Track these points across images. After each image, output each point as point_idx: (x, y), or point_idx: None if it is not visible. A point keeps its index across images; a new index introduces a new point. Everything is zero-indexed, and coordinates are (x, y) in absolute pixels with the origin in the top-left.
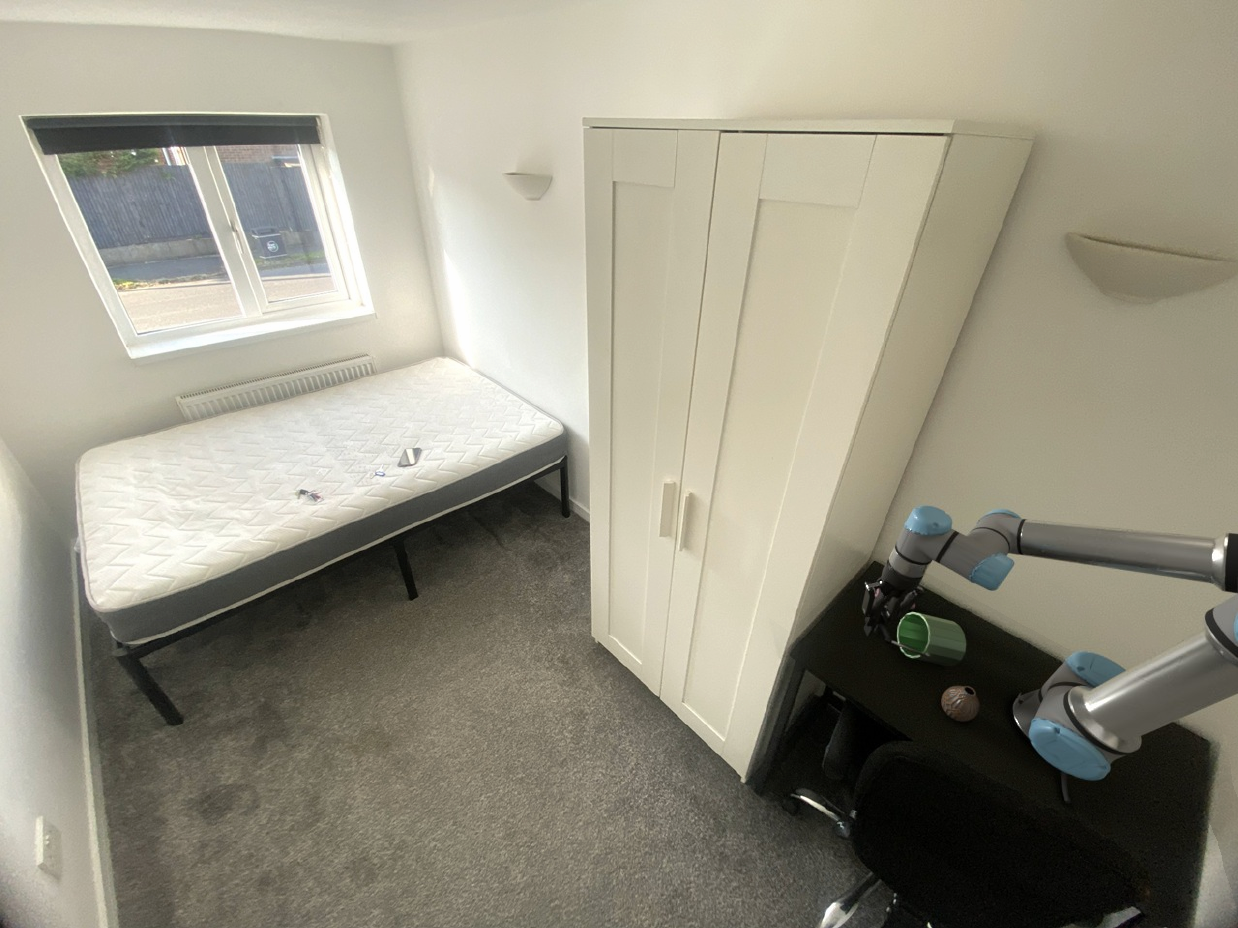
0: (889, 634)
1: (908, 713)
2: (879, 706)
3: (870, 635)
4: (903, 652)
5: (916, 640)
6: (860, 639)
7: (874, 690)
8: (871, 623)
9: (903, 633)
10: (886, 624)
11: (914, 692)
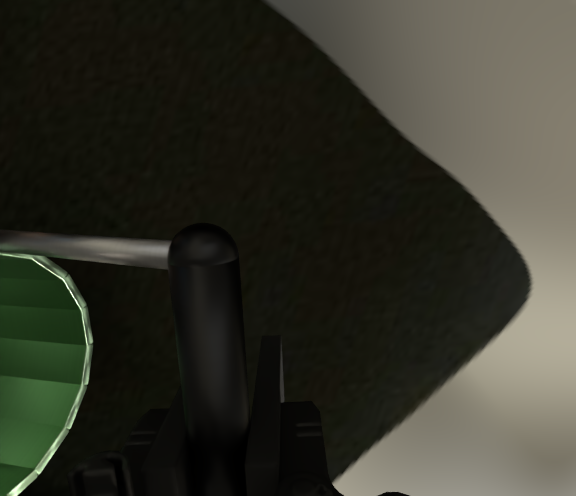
0: (177, 314)
1: (139, 5)
2: (262, 29)
3: (266, 343)
4: (79, 296)
5: (1, 370)
6: (247, 356)
7: (260, 111)
8: (287, 425)
9: (51, 396)
10: (165, 428)
11: (83, 120)
